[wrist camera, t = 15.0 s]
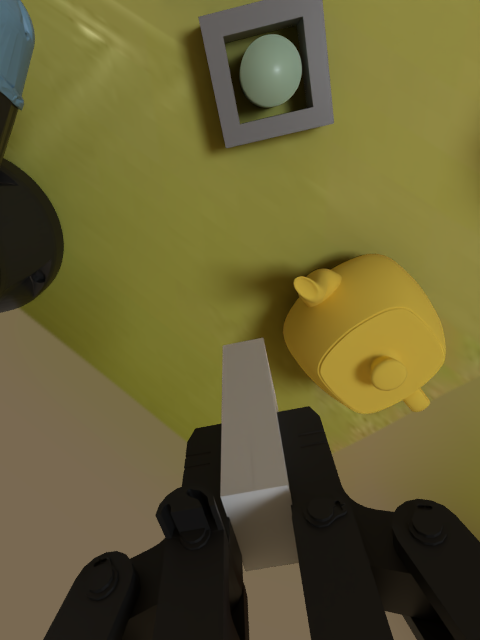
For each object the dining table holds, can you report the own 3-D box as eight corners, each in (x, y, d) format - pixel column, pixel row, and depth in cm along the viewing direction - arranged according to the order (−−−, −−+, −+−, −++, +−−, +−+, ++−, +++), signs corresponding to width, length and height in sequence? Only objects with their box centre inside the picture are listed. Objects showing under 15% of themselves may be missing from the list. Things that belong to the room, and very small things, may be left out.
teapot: (343, 392, 48) (379, 475, 37) (228, 279, 41) (229, 339, 30) (442, 321, 44) (516, 391, 33) (334, 185, 38) (381, 212, 26)
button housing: (226, 146, 36) (225, 148, 33) (200, 25, 32) (198, 16, 29) (325, 123, 35) (333, 123, 32) (312, -3, 31) (320, -15, 28)
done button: (245, 113, 34) (247, 112, 31) (233, 50, 32) (234, 42, 29) (298, 100, 34) (305, 98, 31) (290, 36, 32) (297, 27, 29)
